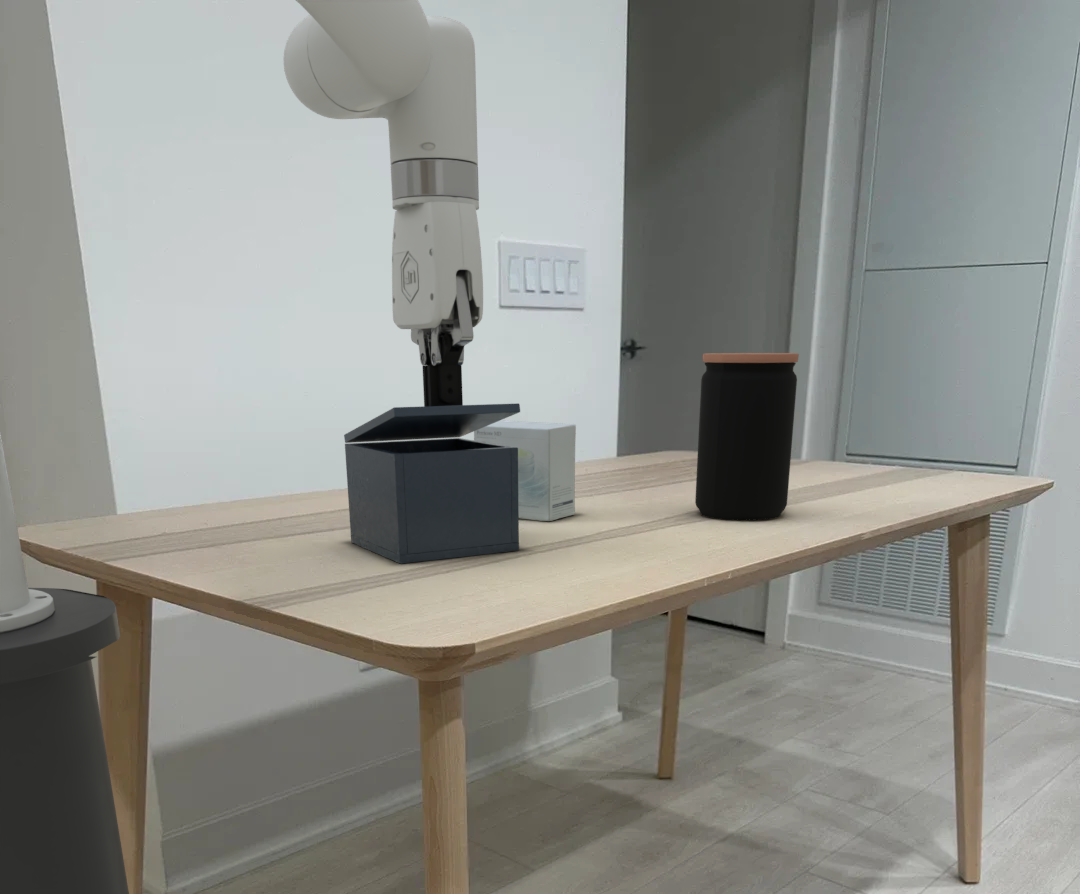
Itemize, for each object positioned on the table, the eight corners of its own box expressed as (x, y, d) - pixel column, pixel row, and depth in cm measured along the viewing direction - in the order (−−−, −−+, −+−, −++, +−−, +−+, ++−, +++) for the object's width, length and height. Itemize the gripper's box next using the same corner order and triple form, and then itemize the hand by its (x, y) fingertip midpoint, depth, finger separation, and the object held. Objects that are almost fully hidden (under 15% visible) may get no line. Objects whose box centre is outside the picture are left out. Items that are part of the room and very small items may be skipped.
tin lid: (520, 412, 94) (519, 403, 94) (395, 416, 88) (393, 407, 88) (459, 437, 106) (458, 429, 106) (344, 442, 100) (343, 434, 100)
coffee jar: (803, 514, 120) (817, 353, 114) (751, 524, 113) (763, 353, 107) (729, 505, 127) (739, 353, 121) (676, 514, 120) (683, 353, 114)
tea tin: (519, 550, 99) (518, 447, 96) (400, 563, 93) (394, 454, 90) (461, 531, 109) (459, 437, 106) (351, 542, 103) (344, 443, 100)
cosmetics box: (473, 514, 120) (471, 423, 117) (503, 508, 126) (502, 419, 122) (548, 522, 115) (548, 426, 112) (576, 514, 120) (577, 423, 117)
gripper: (362, 197, 92) (375, 408, 99) (432, 175, 80) (441, 417, 86) (437, 202, 96) (445, 405, 102) (515, 182, 84) (518, 413, 90)
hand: (443, 410), depth 94 cm, fingers closed
